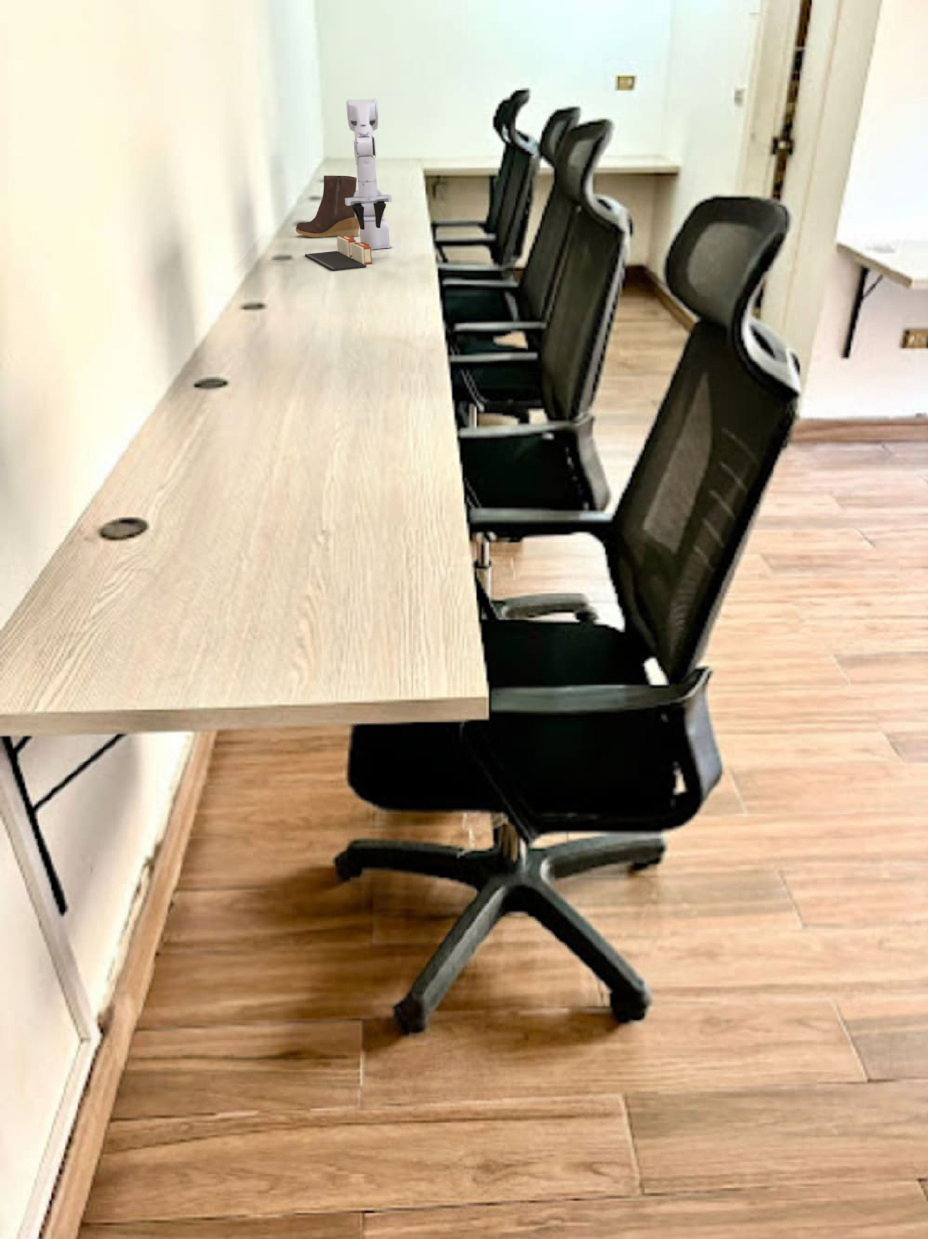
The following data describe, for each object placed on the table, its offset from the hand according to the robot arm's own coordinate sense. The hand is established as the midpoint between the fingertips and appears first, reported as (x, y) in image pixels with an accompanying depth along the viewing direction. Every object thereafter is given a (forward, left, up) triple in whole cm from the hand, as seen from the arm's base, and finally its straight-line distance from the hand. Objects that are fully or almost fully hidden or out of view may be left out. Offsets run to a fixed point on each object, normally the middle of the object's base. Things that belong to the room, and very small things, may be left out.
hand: (370, 228), depth 298 cm
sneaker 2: (+3, +1, -9) cm, 10 cm away
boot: (-2, -50, -10) cm, 51 cm away
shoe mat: (+11, -4, -9) cm, 15 cm away
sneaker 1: (+3, -13, -9) cm, 16 cm away
